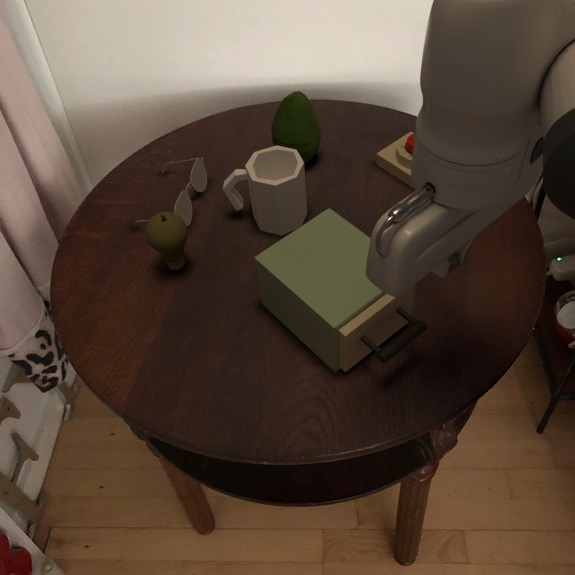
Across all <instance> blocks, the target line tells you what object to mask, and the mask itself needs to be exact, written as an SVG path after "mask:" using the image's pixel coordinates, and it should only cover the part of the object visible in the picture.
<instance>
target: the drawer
mask: <svg viewBox="0 0 575 575" xmlns="http://www.w3.org/2000/svg"><path fill="white" fill-rule="evenodd" d="M415 289H416V284H415V285H413V286H412V287H411V288H410V289H408V290H407V291H406V292H405V293H403V294H402V295H401V296H399V297H393V296H390V295H388V294H386V293H385V294H383V295H382V296H381V297H379V298H378V299H377V300H376V301H374V302H373V303H372V304H370V305H369V306H368V307H366V308H365V309H364V310H362V311H361V312H360V313H358V314H357V315H356V316H354V317H353V318H352V319H350V320H349V321H348V322H347V323H345V324H344V325H343V326H341V327H340V328H339V330H338V338H339V367H340V368H341V369H340V370H342V371H343V372H344V373H347V372H348V371H349V370H351V368H353V367H354V366H356V364H358V363H359V362H360V361H362V360H363V359H364V358H365V357H367V356H368V355H369V354H371V353H372V352H373V353H375V354H376V358H377V359H378V361H379V362H380V363H382V364H386V363H387V362H389V361H390V360H391V359H392V358H393V357H395V356H396V355H397V354H398V353H400V352H401V351H402V350H403V349H404V348H406V347H407V346H409V344H411V343H412V341H414V340H415V339H417V338H418V337H419V336H421V335H422V334H423V333H424V332H425V331H427V329H428V325H427V324H426V322H425V321H424V320H422V319H418V320H417V319H416V318H415V317H413V316H412V311H413V303H414V295H415ZM408 323H409V324H410V325H411V326H409V327H408V328H407V329H406V330H404V331H403V332H402V333H400V334H399V335H398V336H397V337H396V338H394V339H393V340H392V341H391V342H389V343H388V344H387V345H386V346H384V347H383V348H382V349H381V348H380V347H379V346H380V345H382V344H383V343H384V342H386V341H388V339H389V338H391V337H392V336H393V335H394V334H396V333H397V332H398V331H400V330H401V329H402V328H403V327H405V325H407V324H408Z"/></svg>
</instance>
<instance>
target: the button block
mask: <svg viewBox="0 0 575 575" xmlns="http://www.w3.org/2000/svg"><path fill="white" fill-rule="evenodd" d="M414 133H415V132H413V131H410V132H408V133H406V134H405V135H403V136H401V137H400V138H399V139H397V140H396V141H394V142H392V143H390V144H389V145H387V146H386V147H384V148H383V149H381V150H380V151H378V152H376V154H375V156H376V157H375V165H377V167H380V168H381V169H382V170H384V171H385V172H387V173H389V174H390V175H391V176H393V177H395V178H396V179H398V180H399V181H401V182H403V183H404V184H406V185H407V186H409V187H410V188H412V189H413V190H414V191H416V190H417V187H416V186H415V184H414V182H413V180H412V177H411V164H412V155H411V154H409V153H408V152H407V150H406V145H407V138H408V137H409V136H410V135H412V134H414Z"/></svg>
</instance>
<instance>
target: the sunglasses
mask: <svg viewBox="0 0 575 575" xmlns="http://www.w3.org/2000/svg"><path fill="white" fill-rule="evenodd" d="M189 161H194V163H193V166H192V169H191V172H190V177H189V181H190V182H189V183H188V184H186V187H185V190H181V192H180V193H179V196H178V198H177V200H176V202H175V204H174V210H173V211H174V212H173V213H175V214H177V215H179V216H180V217H181V218H182V219H183V220H184V222H185V224H186V226H187V227H189V226H190V225H191V222H192V220H193V205H192V200H191V197H190V194H189V193H188V189H189V190H190V191H191V192H192V193H194V192H195V191H196V192H197V193H203V192H205V190H206V189H207V185H208V174H207V169H206V166H205V163H204V158H203V157H196V158H190V159H184V160H178V161H177V163H182V162H189ZM171 164H176V161H171V162H167V163H166V164H165V165H164V166H163V169H162V171H161V174H164V172H165V169H166V167H167V166H168V165H171ZM190 186H191V187H190ZM149 220H150V219H141V220H136V221H135V223H134V225H133V229H136V226H137V223H141V222H149Z"/></svg>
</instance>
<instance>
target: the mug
mask: <svg viewBox="0 0 575 575" xmlns="http://www.w3.org/2000/svg"><path fill="white" fill-rule="evenodd" d="M244 167H245V168H243V169H242V168H235V169H234V171H233V172H232V173H230V174H229V175H228V177H226V178H225V179H224V181H223V185H222V190H223V192H224V194H225V195H226V197H227V199H228V200H229V202H230V204H231V205H232V207H233V208H234V210H235V212H237V211H240V210H242V209H243V207H244V205H245V204H244V198H243V197H242V195H241V194H240V192H239V191H238V190H237V188H236V187H235V186H236V185H237V183H239V181H247V186H248V191H249V197H250V203H251V211H252V216H253V218H254V221H255V223H256V224H257V227H258V229H259V231H262V232H265V233H269V234H273V235H277V236H281V237H282V236H284V235H286V234H288V233H289V234H290V233H292V232H294V231H295V230H297V229H298V228H300V227H301V226H303V225H304V224H303V223H304V222H305V219H306V217H307V216H308V202H307V201H308V200H307V188H306V187H307V186H306V185H307V184H306V173H305V172H306V170H305V163H304V162H303V160H302V158H301V157H300V155H299V153H298V151H297V150H295V149H291V148H286V147H282V146H277V145H276V146H274V145H273V146H270V147H267V148H263V149H259V150H256V151H254V152H253V153H252V155H251V156H250V157H249V159H248V161H247V162H246V163H245V165H244Z"/></svg>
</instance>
